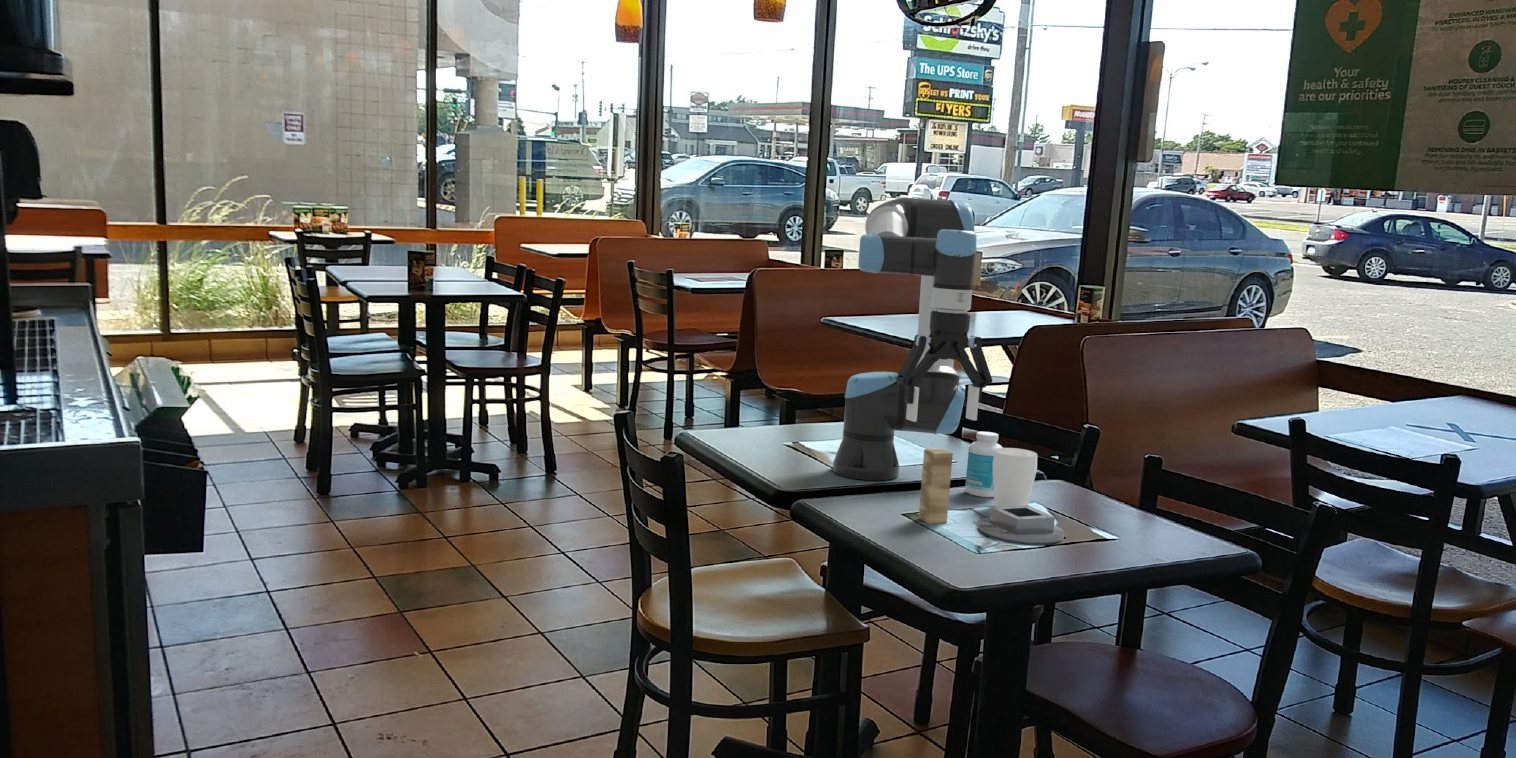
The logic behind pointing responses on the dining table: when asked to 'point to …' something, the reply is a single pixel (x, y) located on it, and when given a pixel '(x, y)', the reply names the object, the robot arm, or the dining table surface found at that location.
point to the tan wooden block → (935, 486)
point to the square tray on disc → (1021, 526)
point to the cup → (1013, 476)
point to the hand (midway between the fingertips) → (941, 420)
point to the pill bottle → (981, 465)
